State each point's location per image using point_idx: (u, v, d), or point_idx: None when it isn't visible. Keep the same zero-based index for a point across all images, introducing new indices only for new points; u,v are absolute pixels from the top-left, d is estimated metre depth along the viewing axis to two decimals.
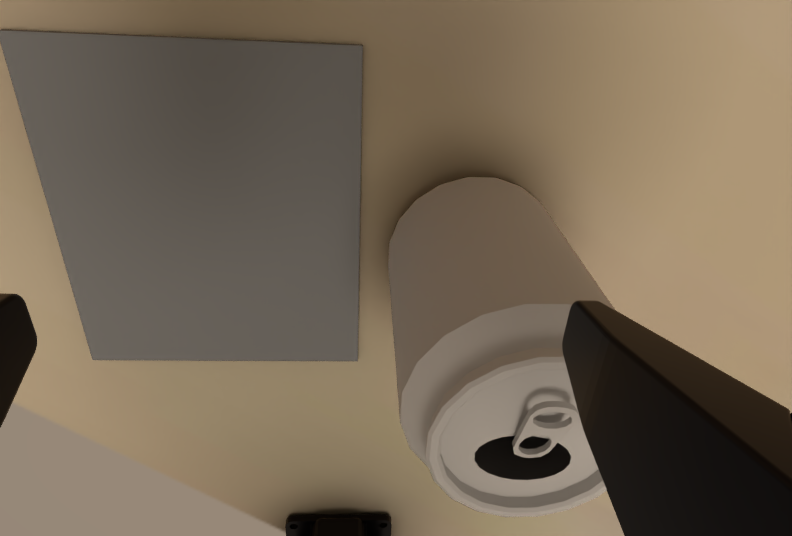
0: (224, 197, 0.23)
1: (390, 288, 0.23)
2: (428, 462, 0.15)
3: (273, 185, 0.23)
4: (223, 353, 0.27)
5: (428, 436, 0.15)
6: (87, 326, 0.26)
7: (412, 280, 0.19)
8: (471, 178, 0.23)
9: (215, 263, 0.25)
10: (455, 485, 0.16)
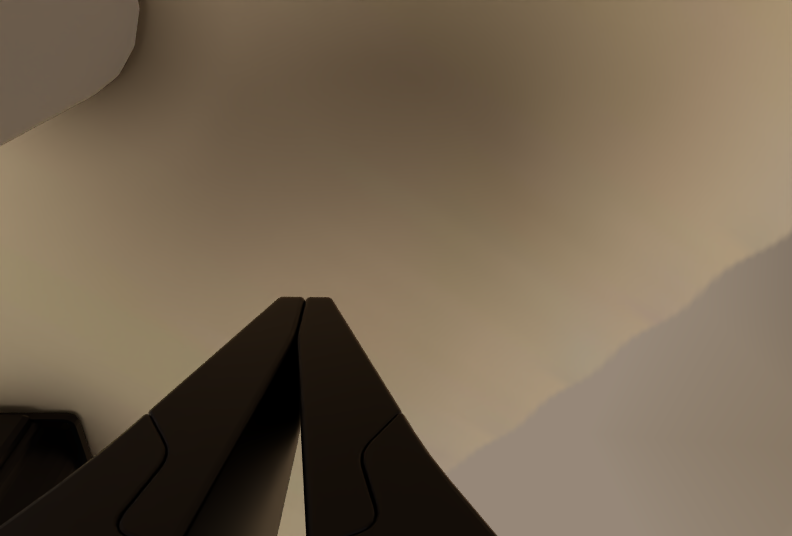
0: None
1: None
2: None
3: None
4: None
5: None
6: None
7: None
8: None
9: None
10: None
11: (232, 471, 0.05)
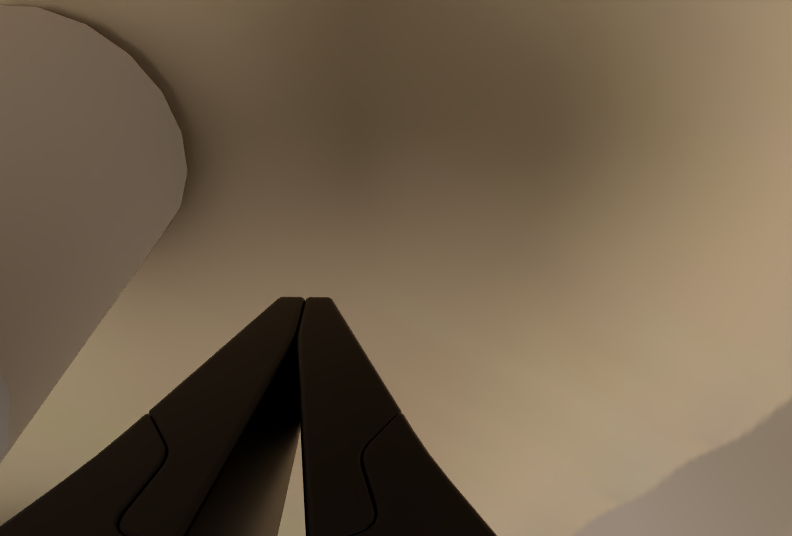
0: None
1: None
2: None
3: None
4: None
5: None
6: None
7: None
8: None
9: None
10: None
11: (232, 471, 0.05)
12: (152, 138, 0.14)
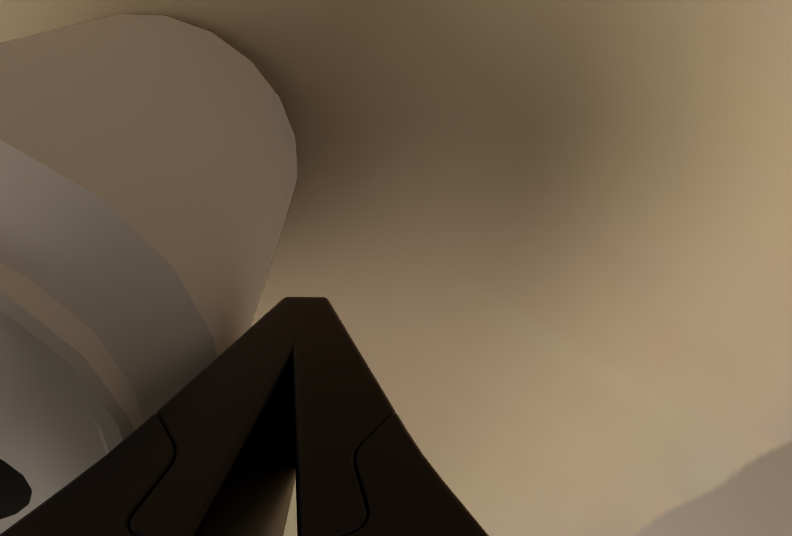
0: None
1: None
2: None
3: None
4: None
5: None
6: None
7: None
8: (121, 15, 0.14)
9: None
10: None
11: (240, 471, 0.05)
12: (280, 144, 0.14)
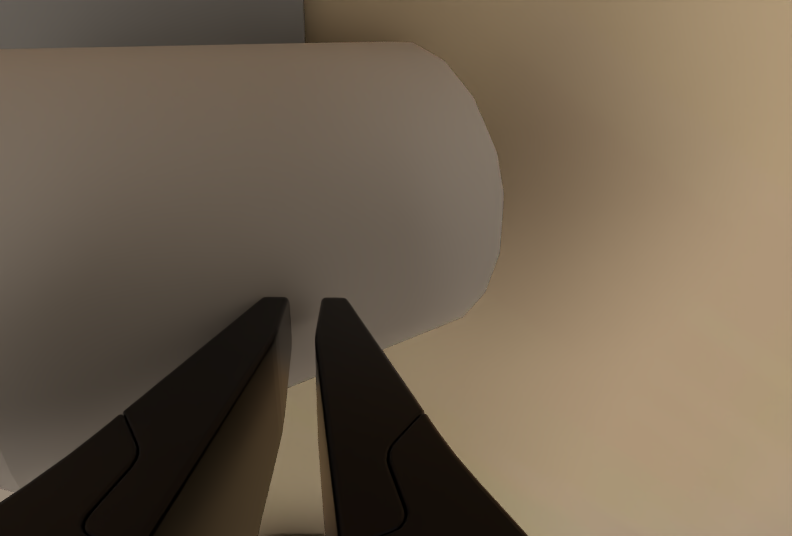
0: None
1: None
2: None
3: None
4: None
5: None
6: None
7: None
8: (381, 42, 0.13)
9: None
10: None
11: (204, 471, 0.05)
12: (434, 198, 0.11)
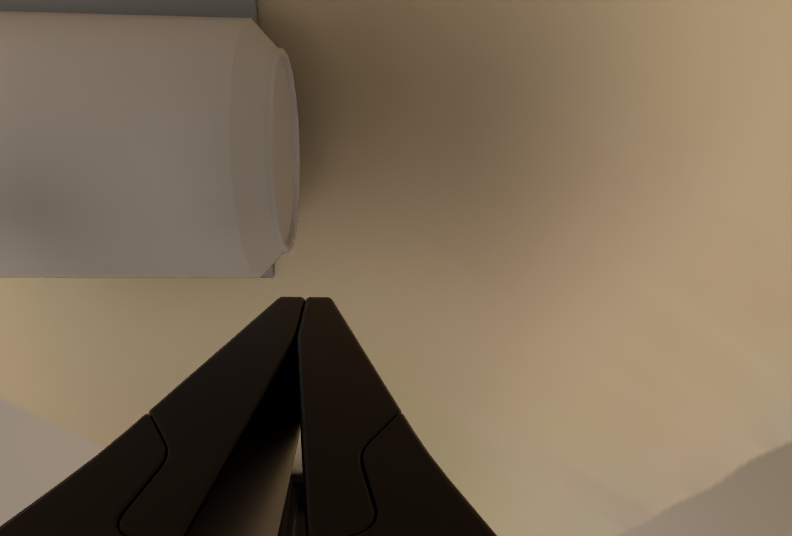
0: None
1: None
2: None
3: None
4: None
5: None
6: None
7: None
8: (244, 18, 0.15)
9: None
10: None
11: (232, 471, 0.05)
12: (150, 158, 0.13)
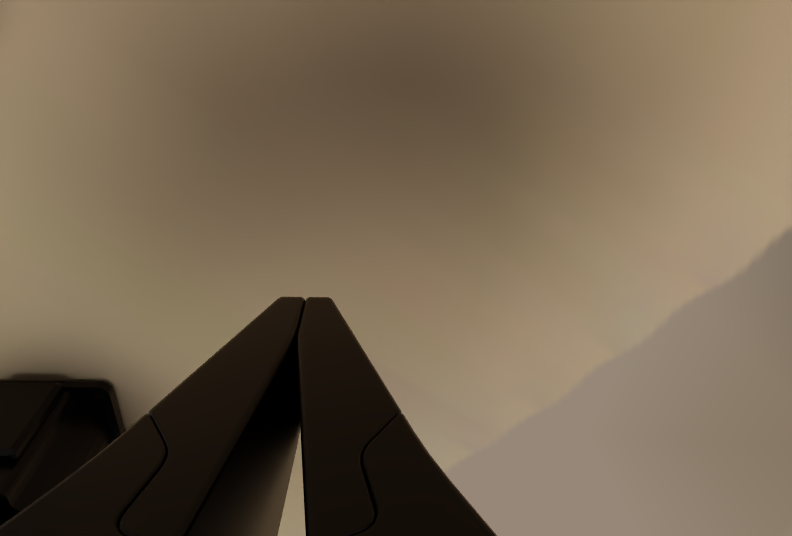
0: None
1: None
2: None
3: None
4: None
5: None
6: None
7: None
8: None
9: None
10: None
11: (232, 471, 0.05)
12: None
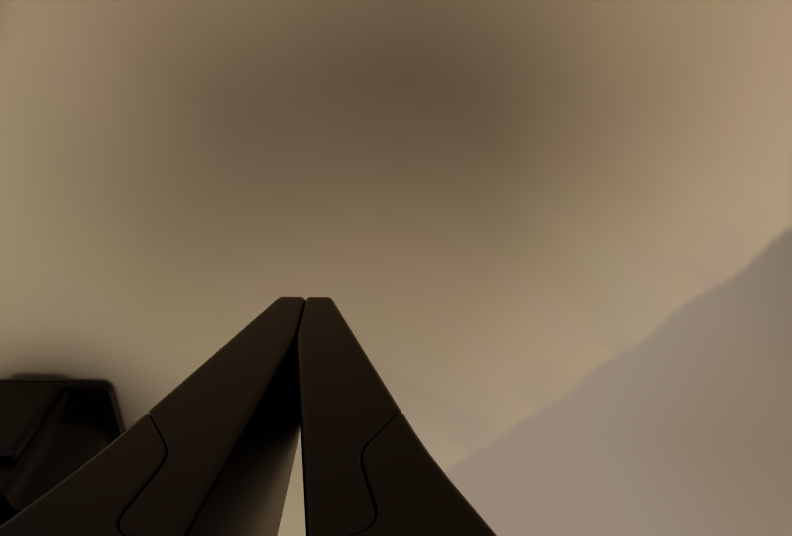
0: None
1: None
2: None
3: None
4: None
5: None
6: None
7: None
8: None
9: None
10: None
11: (232, 471, 0.05)
12: None
